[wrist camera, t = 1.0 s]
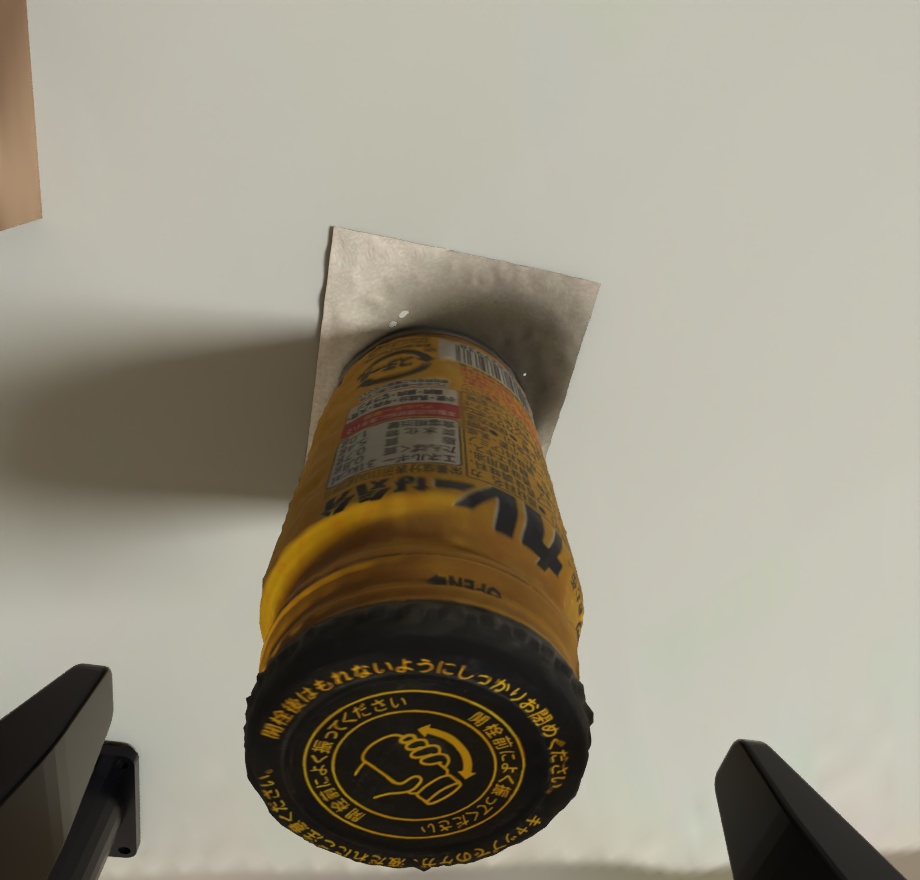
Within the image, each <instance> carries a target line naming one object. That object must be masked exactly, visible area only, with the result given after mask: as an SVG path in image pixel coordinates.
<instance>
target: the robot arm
mask: <svg viewBox="0 0 920 880" xmlns="http://www.w3.org/2000/svg"><path fill="white" fill-rule="evenodd" d="M112 716H113V686H112V672H111V670H110V668H109V667H106V666H100V665H92V664H78V665H75V666H73V667H72V668H70V669H69V670H68V671H66V672H65V673H64V674H62V675H61V676H59V677H58V678H57V679H55V680H54V681H53V682H51V683H50V684H48V685H47V686H46V687H44V688H43V689H42V690H40V691H39V692H38V693H36V694H35V695H33V696H32V697H31V698H29V699H28V700H27V701H25V702H24V703H23V704H21V705H20V706H18V707H17V708H16V709H14V710H13V711H12V712H10V713H9V714H7V715H6V716H5V717H3V718H2V719H1V720H0V880H98V878H99V876H100V873H101V871H102V869H103V867H104V864H105V862H106V860H107V857H108V856H111V857H123V858H129V857H133V856H134V855H135V854H136V852H137V850H138V847H139V845H140V797H139V756H138V753H137V752H136V751H135V750H133V749H131V748H127V747H121V746H111V745H103V743H104V740H105V738H106V735H107V733H108V730H109V727H110V724H111V721H112ZM715 793H716V798H717V802H718V807H719V812H720V817H721V822H722V826H723V831H724V836H725V841H726V846H727V850H728V855H729V860H730V865H731V870H732V874H733V879H734V880H907V879H906V878H905V877H904V876H903V875H902V874H901V873H900V872H899V871H898V870H897V869H896V868H895V867H893V865H892V864H891V863H889V862H888V861H887V860H886V859H885V858H884V857H883V856H882V855H881V854H880V853H879V852H878V851H877V850H876V849H875V848H874V847H873V846H872V845H871V844H870V843H869V842H868V841H867V840H866V839H865V838H864V837H863V836H862V835H861V834H859V833H858V832H857V831H856V830H855V829H854V828H853V827H852V826H851V825H850V824H849V823H848V822H847V821H846V820H845V819H844V818H843V817H842V816H841V815H840V814H839V813H838V812H837V811H836V810H835V809H834V808H833V807H832V806H831V805H830V804H828V803H827V802H826V801H825V800H824V799H823V798H822V797H821V796H820V795H819V794H818V793H817V792H816V791H815V790H814V789H813V788H812V787H811V786H810V785H809V784H808V783H807V782H806V781H805V780H804V779H803V778H802V777H801V776H800V775H799V774H797V773H796V772H795V771H794V770H793V769H792V768H791V767H790V766H789V765H788V764H787V763H786V762H785V761H784V760H783V759H782V758H781V757H780V756H779V755H778V754H777V753H776V752H775V751H774V750H773V749H772V748H771V747H769V746H768V745H767V744H765V743H764V742H761V741H754V740H746V739H738V740H736V741H735V742H734V743H733V744H732V746H731V747H730V749H729V751H728V753H727V755H726V756H725V758H724V760H723V762H722V764H721V765H720V767H719V769H718V771H717V773H716V777H715Z"/></svg>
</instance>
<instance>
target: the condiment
mask: <svg viewBox="0 0 920 880" xmlns="http://www.w3.org/2000/svg"><path fill="white" fill-rule="evenodd" d="M599 287H600V283H596V282H592V281H588V280H583V279H579V278H572V277H569V276H567V275H563V274H558V273H553V272H548V271H544V270H539V269H535V268H530V267H525V266H519V265H515V264H512V263H509V262H503V261H498V260H493V259H488V258H484V257H479V256H474V255H469V254H464V253H460V252H455V251H452V250H447V249H445V248H436V247H431V246H425V245H419V244H416V243H411V242H406V241H402V240H398V239H393V238H389V237H384V236H377V235H372V234H367V233H363V232H358V231H353V230H348V229H343V228H339V227H334V230H333V238H332V246H331V253H330V261H329V270H328V279H327V287H326V294H325V301H324V314H323V321H322V328H321V335H320V344H319V352H318V361H317V370H316V379H315V387H314V396H313V403H312V411H311V420H310V428H309V436H308V445H307V452H306V459H305V468H304V470H303V472H302V474H301V477H300V479H299V484H298V486H297V488H296V489H295V492H294V496H293V498H292V500H291V502H290V503H289V510H288V513H287V515H286V520H285V522H284V524H283V526H282V532H281V534H280V536H279V538H278V541H277V543H276V546H275V549H274V552H273V555H272V558H271V560H270V563H269V566H268V569H267V572H266V574H265V576H264V578H263V586H262V598H261V603H260V628H261V634H262V638H263V642H264V645H263V648H262V652H261V658H260V665H259V673H258V675H257V682H256V684H255V686H254V688H253V690H252V692H251V696H249V697H247V698H246V701H247V705H248V706H247V710H246V713H245V715H246V724H245V726H244V733H245V736H244V741H245V743H244V747H245V763H246V769H247V777H248V779H249V781H250V783H251V784H252V786H253V787H254V788H255V790H256V791H257V792H258V793H259V795H260V796H261V798H262V799H263V801H264V802H265V804H266V806H267V808H268V810H269V813H270V814H271V815H272V816H273V817H274V818H275V819H276V820H277V821H278V822H279V823H280V824H281V825H282V826H284V827H286V828H287V829H289V830H291V831H292V832H294V833H295V834H297V835H298V836H300V837H303V839H304V840H307V841H308V842H310V843H313V844H314V845H315V846H317V847H320V848H322V849H325V850H328V851H330V852H333V853H336V854H339V855H341V856H343V857H346V858H350V859H352V860H353V861H355V862H361V863H364V864H369V865H381V866H386V867H392V868H407V867H415V868H417V869H420V870H422V871H426V870H428V869H430V868H431V867H439V866H442V865H445V866H451V865H455V864H467V863H471V862H475V861H477V860H480V859H483V858H486V857H490V856H493V855H495V854H497V853H499V852H501V851H503V850H504V849H506V848H507V847H510V846H512V845H515V844H518V843H521V842H522V841H524V840H526V839H528V838H530V837H532V836H533V835H535V834H536V833H537V832H539V831H540V830H542V829H543V828H545V827H546V826H547V825H548V824H549V822H550V821H551V820H552V819H553V818H554V817H555V816H556V815H557V814H558V813H559V812H560V811H561V810H563V809H564V808H565V807H566V806H567V804H568V803H569V802H570V801H571V800H572V799H573V798H574V797H575V796H576V794H577V791H578V789H579V786H580V782H581V779H582V777H583V774H584V771H585V768H586V765H587V761H588V757H589V753H588V750H589V748H590V746H591V734H590V726H591V725H592V723H593V715H594V713H593V712H592V710H591V709H590V707H589V706H588V705H587V703H586V702H585V700H586V699H585V694H584V687H583V685H582V683H581V682H580V681H579V661H578V655H577V647H578V641H579V636H580V633H581V627H582V624H583V614H584V606H583V594H582V589H581V586H580V582H579V579H578V575H577V571H576V567H575V564H574V559H573V556H572V553H571V549H570V546H569V543H568V540H567V536H566V533H567V532H566V531H565V528H564V526H563V522H562V519H561V516H560V512H559V508H558V505H557V501H556V497H555V493H554V490H553V484H552V482H551V479H550V475H549V473H548V470H547V465H546V461H545V458H546V454H547V451H548V448H549V446H550V443H551V438H552V435H553V432H554V429H555V426H556V423H557V421H558V418H559V413H560V411H561V408H562V406H563V403H564V400H565V397H566V394H567V389H568V386H569V382H570V379H571V376H572V373H573V370H574V367H575V363H576V359H577V356H578V353H579V350H580V347H581V343H582V340H583V337H584V334H585V332H586V329H587V326H588V323H589V320H590V318H591V314H592V310H593V307H594V303H595V300H596V297H597V294H598V290H599ZM405 310H406V311H409V313H408V314H407V315H406V316H405V317H403V318H399V314H400V313H401V312H402V311H405ZM392 321H395V322H397V325H396V326H394V327H392V328H390V327H389V323H390V322H392ZM524 373H526V376H523V374H524Z"/></svg>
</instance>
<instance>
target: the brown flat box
mask: <svg viewBox="0 0 920 880" xmlns="http://www.w3.org/2000/svg"><path fill="white" fill-rule="evenodd" d="M40 218H42V207H41V194H40V180H39V167H38V153H37V140H36V126H35V113H34V100H33V86H32V73H31V59H30V46H29V33H28V19H27V6H26V0H0V231H2V230H5V229H8V228H11V227H14V226H18V225H21V224H24V223H27V222H30V221H34V220H37V219H40Z"/></svg>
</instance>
